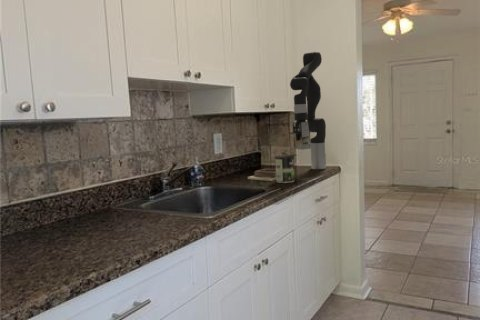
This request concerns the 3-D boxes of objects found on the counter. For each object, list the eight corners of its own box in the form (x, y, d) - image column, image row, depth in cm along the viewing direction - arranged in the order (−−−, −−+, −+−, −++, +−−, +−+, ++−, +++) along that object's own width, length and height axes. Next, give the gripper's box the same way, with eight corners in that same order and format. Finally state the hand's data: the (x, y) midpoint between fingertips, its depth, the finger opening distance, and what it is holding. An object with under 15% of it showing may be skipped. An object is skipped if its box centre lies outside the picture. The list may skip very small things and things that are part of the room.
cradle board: (268, 174, 242) (268, 167, 242) (292, 175, 230) (291, 169, 229) (247, 179, 227) (247, 172, 227) (272, 181, 215) (271, 173, 215)
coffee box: (311, 148, 225) (310, 121, 223) (302, 149, 222) (301, 122, 220) (301, 148, 233) (300, 121, 231) (293, 149, 230) (292, 122, 229)
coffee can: (297, 180, 214) (296, 155, 213) (291, 183, 205) (290, 157, 204) (279, 179, 219) (278, 155, 217) (273, 182, 210) (272, 157, 208)
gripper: (301, 112, 233) (303, 138, 235) (288, 113, 223) (289, 141, 225) (312, 111, 228) (313, 138, 230) (299, 112, 218) (300, 141, 219)
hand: (301, 139), depth 227 cm, fingers closed on coffee box, 7 cm apart
